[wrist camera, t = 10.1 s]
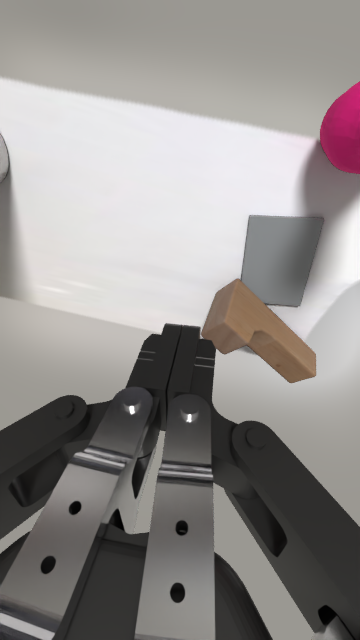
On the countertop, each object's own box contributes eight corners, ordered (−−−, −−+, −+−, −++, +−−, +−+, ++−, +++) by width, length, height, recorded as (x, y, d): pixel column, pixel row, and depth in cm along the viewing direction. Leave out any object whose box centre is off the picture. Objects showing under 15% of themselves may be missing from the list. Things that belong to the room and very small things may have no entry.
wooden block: (199, 335, 36) (288, 410, 41) (224, 321, 33) (317, 404, 38) (215, 291, 42) (291, 362, 47) (238, 276, 39) (317, 353, 44)
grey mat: (238, 298, 42) (238, 301, 42) (249, 215, 35) (249, 216, 35) (299, 304, 41) (299, 306, 40) (322, 218, 34) (324, 219, 33)
